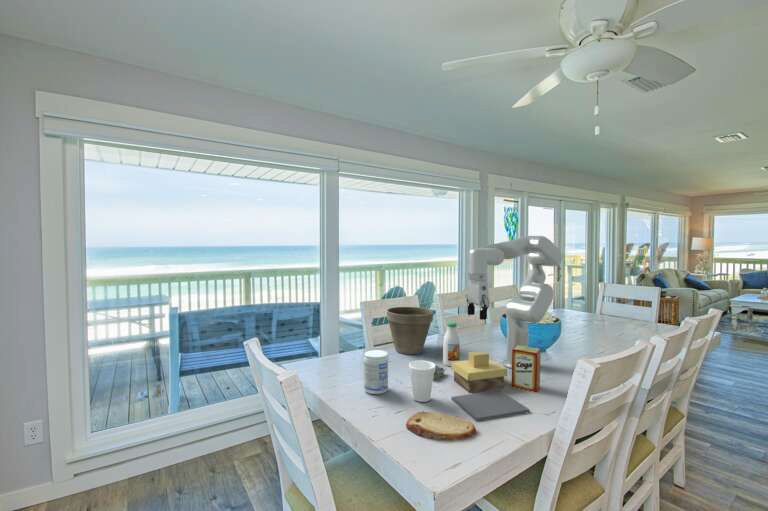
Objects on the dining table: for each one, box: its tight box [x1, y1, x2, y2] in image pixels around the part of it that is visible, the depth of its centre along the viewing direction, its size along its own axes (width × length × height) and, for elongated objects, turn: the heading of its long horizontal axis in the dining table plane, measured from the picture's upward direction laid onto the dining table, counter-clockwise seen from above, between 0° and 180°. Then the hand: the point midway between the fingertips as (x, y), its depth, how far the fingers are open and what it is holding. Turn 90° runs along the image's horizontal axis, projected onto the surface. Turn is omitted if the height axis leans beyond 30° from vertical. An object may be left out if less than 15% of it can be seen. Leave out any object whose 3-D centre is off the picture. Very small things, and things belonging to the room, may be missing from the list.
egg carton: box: [433, 364, 446, 381], centre depth 159 cm, size 11×8×4 cm
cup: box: [408, 360, 437, 403], centre depth 135 cm, size 10×10×13 cm
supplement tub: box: [363, 349, 389, 395], centre depth 143 cm, size 10×10×15 cm
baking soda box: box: [511, 345, 542, 393], centre depth 147 cm, size 10×6×16 cm
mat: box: [451, 389, 530, 422], centre depth 131 cm, size 21×17×1 cm
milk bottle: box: [442, 321, 461, 367], centre depth 174 cm, size 8×8×20 cm
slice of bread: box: [405, 410, 477, 441], centre depth 115 cm, size 18×18×4 cm
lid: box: [450, 350, 508, 381], centre depth 150 cm, size 18×14×8 cm
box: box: [453, 370, 505, 393], centre depth 150 cm, size 16×12×7 cm
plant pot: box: [386, 306, 434, 355], centre depth 195 cm, size 25×25×22 cm
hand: (476, 317), depth 157 cm, fingers open, 9 cm apart
